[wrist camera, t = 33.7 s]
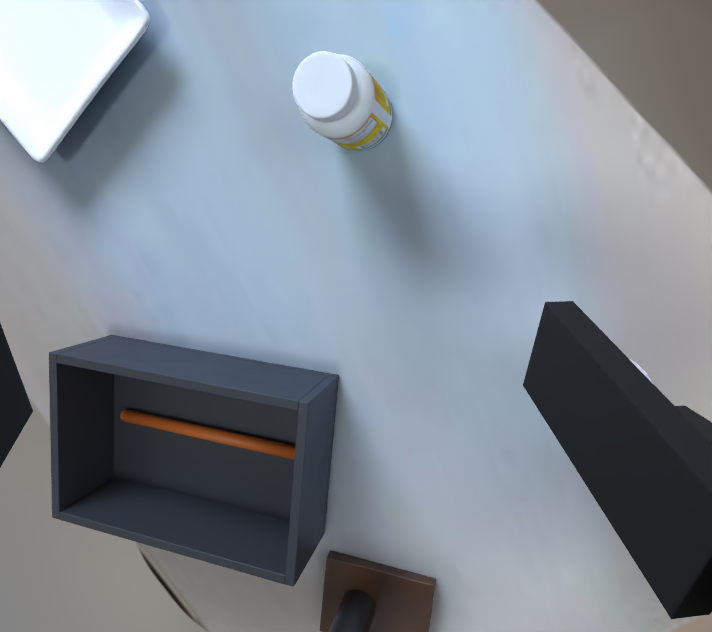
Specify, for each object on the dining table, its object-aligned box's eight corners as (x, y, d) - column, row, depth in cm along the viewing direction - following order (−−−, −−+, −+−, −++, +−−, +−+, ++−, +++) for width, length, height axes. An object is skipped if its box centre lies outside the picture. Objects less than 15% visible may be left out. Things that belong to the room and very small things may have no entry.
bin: (111, 479, 54) (52, 517, 47) (111, 334, 51) (48, 352, 44) (324, 533, 49) (293, 587, 42) (338, 375, 46) (308, 402, 38)
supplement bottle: (383, 158, 42) (350, 139, 32) (321, 143, 43) (273, 120, 34) (401, 88, 40) (372, 48, 31) (337, 74, 41) (292, 31, 32)
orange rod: (125, 419, 52) (116, 421, 51) (126, 407, 52) (118, 409, 51) (313, 461, 47) (309, 465, 46) (315, 448, 47) (311, 451, 46)
